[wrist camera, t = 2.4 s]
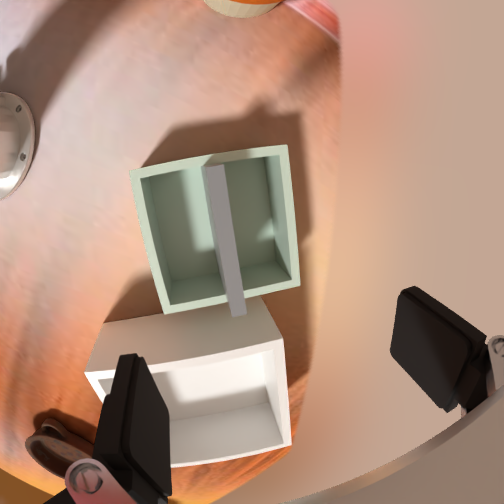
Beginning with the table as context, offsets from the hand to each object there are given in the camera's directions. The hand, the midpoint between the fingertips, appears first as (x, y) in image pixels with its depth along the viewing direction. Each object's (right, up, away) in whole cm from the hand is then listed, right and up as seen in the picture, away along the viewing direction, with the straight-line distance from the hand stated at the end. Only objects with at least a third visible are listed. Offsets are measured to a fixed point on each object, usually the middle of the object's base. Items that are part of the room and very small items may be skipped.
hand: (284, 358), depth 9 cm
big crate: (-8, -12, +26) cm, 29 cm away
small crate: (-5, +7, +20) cm, 22 cm away
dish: (-35, -33, +27) cm, 56 cm away
